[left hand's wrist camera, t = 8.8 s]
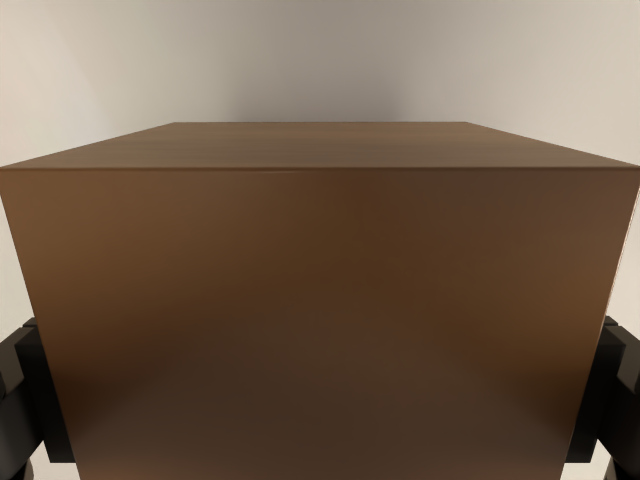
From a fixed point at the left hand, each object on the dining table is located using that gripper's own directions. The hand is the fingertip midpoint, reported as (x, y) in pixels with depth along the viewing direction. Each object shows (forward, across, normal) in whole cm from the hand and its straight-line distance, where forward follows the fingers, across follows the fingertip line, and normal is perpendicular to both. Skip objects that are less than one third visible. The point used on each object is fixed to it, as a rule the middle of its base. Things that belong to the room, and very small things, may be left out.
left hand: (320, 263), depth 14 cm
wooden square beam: (+1, 0, -22) cm, 22 cm away
